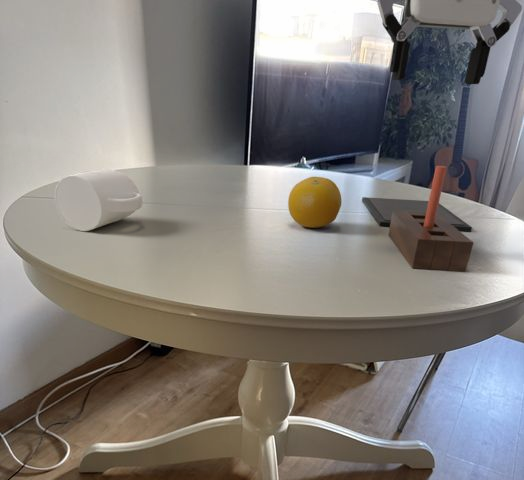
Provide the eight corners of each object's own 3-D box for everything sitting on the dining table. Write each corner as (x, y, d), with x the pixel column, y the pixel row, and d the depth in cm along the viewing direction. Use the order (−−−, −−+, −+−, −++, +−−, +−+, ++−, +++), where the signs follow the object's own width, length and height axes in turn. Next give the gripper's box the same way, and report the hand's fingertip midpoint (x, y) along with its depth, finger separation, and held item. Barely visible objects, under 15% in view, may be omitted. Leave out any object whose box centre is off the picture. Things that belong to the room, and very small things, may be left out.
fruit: (287, 231, 78) (291, 180, 74) (285, 219, 85) (289, 172, 81) (341, 234, 78) (348, 183, 74) (335, 222, 85) (340, 174, 81)
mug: (54, 227, 73) (45, 172, 69) (90, 214, 81) (84, 164, 77) (124, 237, 70) (118, 180, 66) (154, 223, 78) (151, 171, 74)
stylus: (426, 250, 72) (445, 166, 66) (428, 253, 71) (448, 167, 65) (417, 249, 72) (434, 165, 66) (419, 252, 71) (437, 166, 65)
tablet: (436, 205, 103) (436, 201, 103) (471, 231, 84) (472, 226, 83) (361, 200, 103) (362, 196, 103) (379, 226, 84) (380, 221, 83)
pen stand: (431, 237, 79) (437, 213, 77) (465, 271, 64) (473, 242, 62) (388, 235, 79) (392, 210, 77) (412, 268, 64) (418, 239, 62)
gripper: (402, -114, 49) (375, 77, 57) (563, -101, 50) (514, 85, 58) (383, -90, 56) (361, 78, 64) (526, -79, 57) (487, 85, 65)
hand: (434, 81), depth 61 cm, fingers open, 9 cm apart
